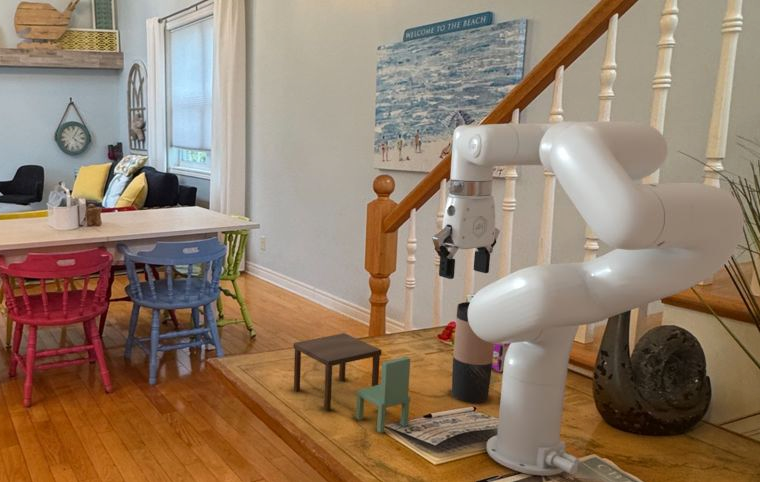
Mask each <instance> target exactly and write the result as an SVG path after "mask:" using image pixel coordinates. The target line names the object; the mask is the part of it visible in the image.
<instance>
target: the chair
mask: <svg viewBox="0 0 760 482" xmlns="http://www.w3.org/2000/svg"><path fill="white" fill-rule="evenodd" d="M410 372H411V358H410V357H408V356H403V357H398V358H394V359H389V360H385V361H382V362H381V379H380V384H378V385H376V386H372V385H371V386H368V387H364V388H360V389H357V390H356V391H355V392H356V393H355V394H356V405H355V406H356V408H355V419H357V420H359V421H361V420H363V419H364V405H365V401H367V402H368V403H370V404H372V405H373V406H376V407H377V424H376V431H377V432H378V433H379V434H382V433H385V427H386V414H387V408H391V407H394V406H399V405H401V407H400V408H401V409H400V425H401V426H402V427H407V426H408V425H409V416H410V415H409V412H410V402H411V396H410V395H409V387H410Z"/></svg>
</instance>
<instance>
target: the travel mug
mask: <svg viewBox="0 0 760 482" xmlns="http://www.w3.org/2000/svg"><path fill="white" fill-rule="evenodd" d="M469 304H470V302H466V301H464V302H460V303H458V304H457V309H456V318H455V330H454V331H455V332H454V340H453V341H454V342H453V354H452V373H451V374H452V375H451V376H452V377H451V395H452V396H453V397H454V398H455V399H457V400H459V401H462V402H465V403H470V404H481V403H482V404H483V403H485V402H487V401H488V399H489V392H490V385H491V379H492V378H491V377H492V371H493V369H492V361H493V349H494V344H493V343H489V342H486V341H484V340H482V339H481V338H479V337H478V336H477V335H476V334H475V333H474V332H473V330H472V329H471V327H470V325H469V322H468V307H469Z"/></svg>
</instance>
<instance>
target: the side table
mask: <svg viewBox="0 0 760 482" xmlns="http://www.w3.org/2000/svg"><path fill="white" fill-rule="evenodd" d="M293 349H294V366H293V367H294V368H293V374H294V375H293V391H294V392H296V393H297V392H300V391H301V370H302V369H301V365H302V363H301V362H302V354H304V355H305V356H307V357H309V358H312V359H313V360H315V361H317V362H318V363H321V364H323V365H324V366H325V368H324V369H325V370H324V397H323V398H324V399H323V401H324V402H323V409H324V411H326V412H328V411H331V410H332V388H333V386H332V385H333V366H338V365H339V366H338V367H339V370H338V380H339V381H340V382H343V381H345V380H346V364H347V363H351V362H357V361H360V360H365V359H370V358H372V368H371V369H372V370H371V371H372V372H371V387H372V386H376V385H379V381H380V379H379V377H380V358H381V356H382V349H381V348H378V347H376V346H374V345H371V344H370V343H367V342H365V341H363V340H360V339H358V338H356V337H354V336H352V335H349V334H347V333H346V332H345V333H344V332H342V333H337V334H332V335H327V336H323V337H316V338H312V339H308V340H307V339H306V340H301V341H297V342H294V343H293Z"/></svg>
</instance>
